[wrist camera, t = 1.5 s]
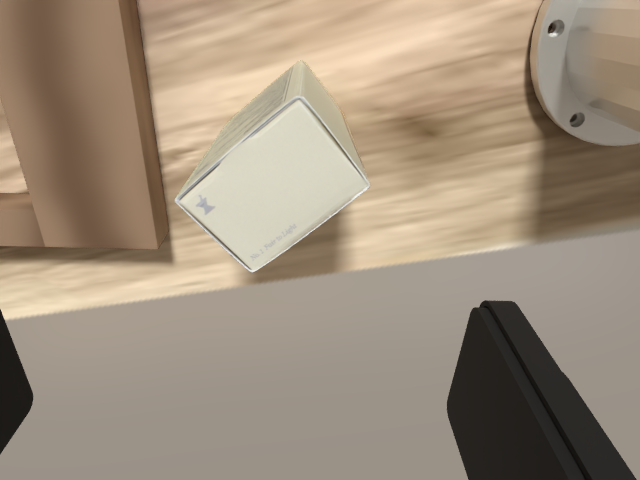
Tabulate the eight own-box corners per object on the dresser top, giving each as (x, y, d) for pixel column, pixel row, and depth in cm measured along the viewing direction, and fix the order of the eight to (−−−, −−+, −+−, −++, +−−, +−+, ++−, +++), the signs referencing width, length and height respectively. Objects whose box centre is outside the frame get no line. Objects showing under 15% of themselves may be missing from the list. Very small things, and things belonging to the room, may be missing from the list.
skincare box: (271, 175, 28) (249, 281, 18) (222, 121, 27) (166, 203, 16) (349, 113, 27) (377, 190, 16) (302, 51, 25) (299, 91, 14)
